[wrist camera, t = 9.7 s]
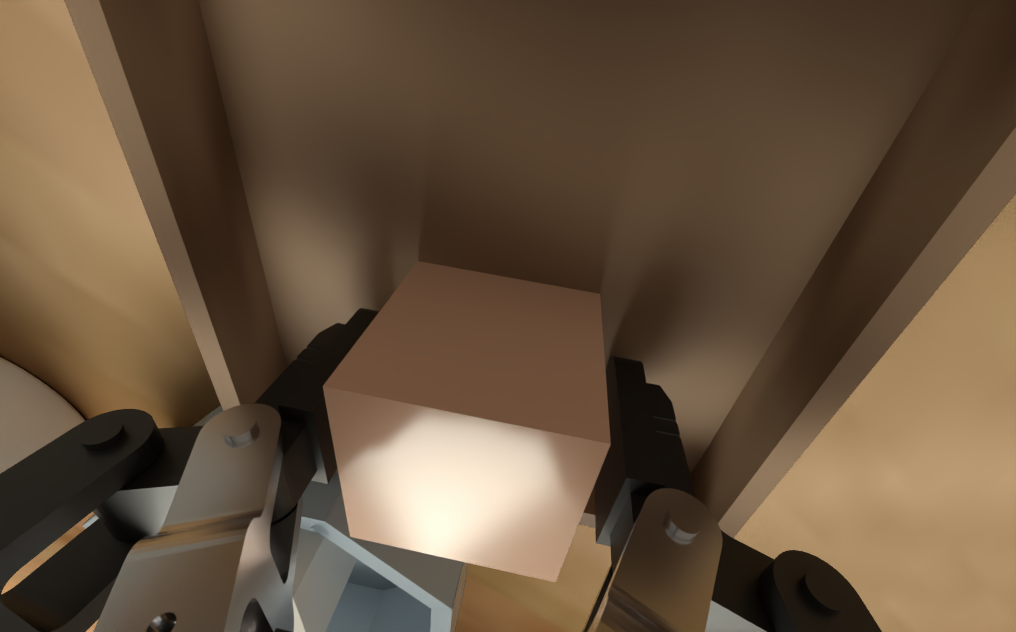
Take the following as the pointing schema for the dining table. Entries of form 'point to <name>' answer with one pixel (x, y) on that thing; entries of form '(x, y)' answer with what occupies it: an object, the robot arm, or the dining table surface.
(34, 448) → the candle holder
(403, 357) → the tan cube
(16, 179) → the dining table surface
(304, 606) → the off-white cube
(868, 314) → the walnut tray
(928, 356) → the dining table surface
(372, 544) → the ceramic bowl
